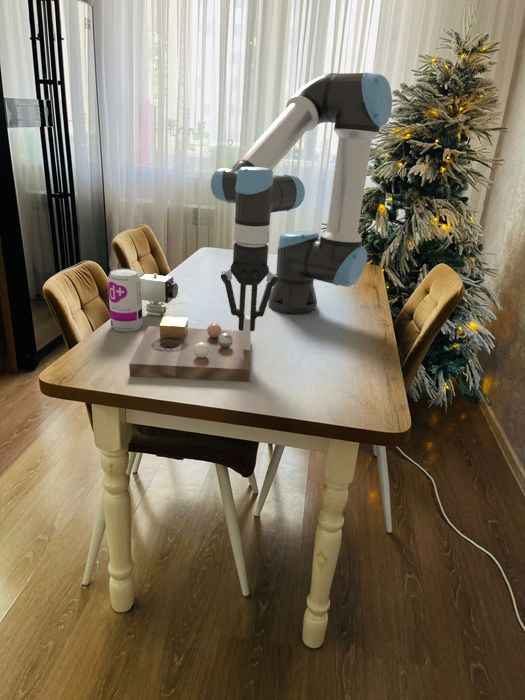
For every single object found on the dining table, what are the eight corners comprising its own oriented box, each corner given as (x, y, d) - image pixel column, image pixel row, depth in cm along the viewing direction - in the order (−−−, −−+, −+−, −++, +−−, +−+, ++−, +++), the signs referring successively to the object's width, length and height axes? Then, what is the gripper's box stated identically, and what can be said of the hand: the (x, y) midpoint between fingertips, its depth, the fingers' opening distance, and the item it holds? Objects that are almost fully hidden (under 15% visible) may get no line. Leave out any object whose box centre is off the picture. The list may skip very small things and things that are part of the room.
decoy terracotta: (221, 334, 127) (222, 321, 125) (220, 340, 124) (221, 326, 122) (207, 334, 127) (207, 320, 125) (206, 339, 123) (206, 326, 122)
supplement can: (126, 335, 130) (123, 278, 124) (104, 327, 134) (100, 272, 128) (149, 326, 137) (147, 272, 131) (127, 319, 141) (124, 266, 134)
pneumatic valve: (172, 319, 142) (172, 278, 137) (133, 314, 144) (131, 273, 139) (179, 313, 147) (179, 273, 142) (141, 308, 149) (140, 268, 144)
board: (250, 342, 131) (250, 331, 130) (249, 381, 111) (249, 369, 110) (149, 336, 130) (148, 326, 129) (129, 376, 110) (129, 363, 109)
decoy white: (209, 354, 116) (210, 340, 114) (208, 360, 113) (208, 346, 111) (194, 353, 116) (194, 339, 114) (192, 360, 112) (192, 345, 111)
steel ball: (232, 344, 121) (233, 331, 120) (232, 350, 118) (232, 337, 117) (218, 344, 121) (218, 330, 120) (217, 350, 118) (217, 336, 117)
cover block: (187, 328, 129) (187, 317, 127) (184, 338, 123) (184, 326, 122) (164, 327, 128) (163, 316, 127) (159, 336, 123) (159, 325, 122)
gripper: (280, 241, 113) (272, 338, 123) (221, 237, 113) (218, 335, 122) (282, 248, 107) (274, 350, 116) (220, 245, 106) (217, 348, 116)
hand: (245, 343), depth 119 cm, fingers closed
